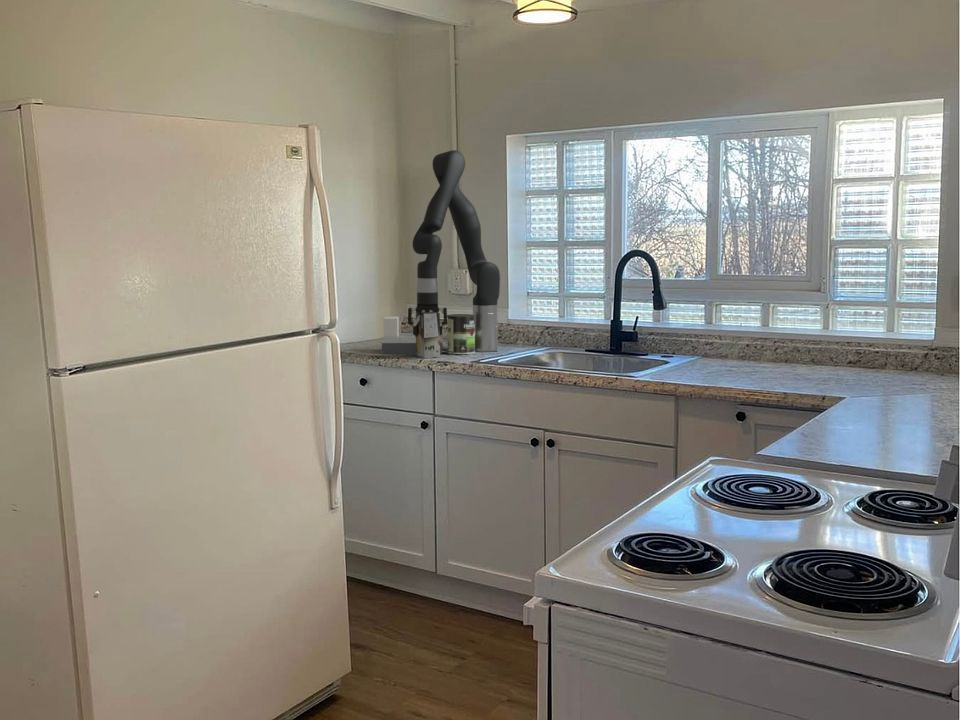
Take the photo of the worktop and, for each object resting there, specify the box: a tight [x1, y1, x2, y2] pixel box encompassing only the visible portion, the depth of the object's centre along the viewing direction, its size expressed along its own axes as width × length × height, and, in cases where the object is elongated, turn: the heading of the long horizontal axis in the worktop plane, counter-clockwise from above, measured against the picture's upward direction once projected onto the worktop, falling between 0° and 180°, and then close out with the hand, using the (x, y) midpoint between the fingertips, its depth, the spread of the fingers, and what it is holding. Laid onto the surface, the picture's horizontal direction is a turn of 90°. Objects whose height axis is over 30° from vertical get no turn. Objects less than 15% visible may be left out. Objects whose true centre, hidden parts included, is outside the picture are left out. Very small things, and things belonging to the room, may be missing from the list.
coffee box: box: [415, 311, 441, 359], centre depth 324 cm, size 9×6×16 cm
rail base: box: [381, 339, 444, 355], centre depth 338 cm, size 22×14×4 cm, turn 92°
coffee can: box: [447, 313, 476, 356], centre depth 333 cm, size 10×10×14 cm
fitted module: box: [383, 315, 400, 337], centre depth 337 cm, size 5×9×8 cm, turn 2°
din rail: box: [381, 332, 444, 344], centre depth 338 cm, size 22×13×2 cm, turn 92°
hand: (427, 336), depth 324 cm, fingers closed on coffee box, 8 cm apart
